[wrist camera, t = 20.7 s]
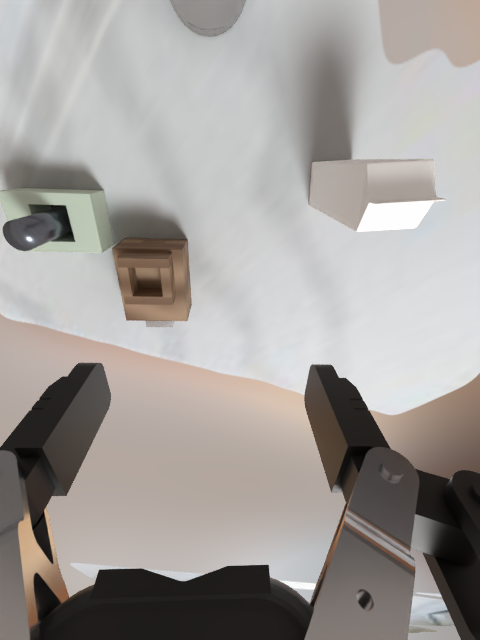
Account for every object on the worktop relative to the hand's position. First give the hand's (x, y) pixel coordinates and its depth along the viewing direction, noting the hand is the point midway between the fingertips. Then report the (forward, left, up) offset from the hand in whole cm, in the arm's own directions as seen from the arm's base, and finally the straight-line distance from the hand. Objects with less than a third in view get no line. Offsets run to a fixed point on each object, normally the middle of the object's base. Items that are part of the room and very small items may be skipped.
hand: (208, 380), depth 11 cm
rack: (+1, -24, -38) cm, 45 cm away
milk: (-5, +16, -38) cm, 42 cm away
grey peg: (+1, -24, -38) cm, 45 cm away
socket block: (+10, -11, -38) cm, 41 cm away
